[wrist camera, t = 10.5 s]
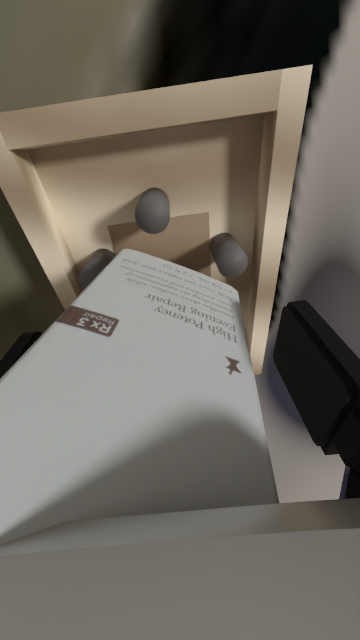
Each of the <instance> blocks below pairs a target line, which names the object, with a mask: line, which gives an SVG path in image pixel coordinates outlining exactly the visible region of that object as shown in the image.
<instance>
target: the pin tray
mask: <svg viewBox="0 0 360 640" xmlns="http://www.w3.org/2000/svg"><path fill="white" fill-rule="evenodd" d="M312 66H313V65H307V66H300V67H294V68H287V69H281V70H274V71H268V72H261V73H255V74H248V75H242V76H235V77H229V78H222V79H216V80H209V81H203V82H196V83H190V84H183V85H177V86H170V87H164V88H157V89H151V90H144V91H138V92H131V93H125V94H118V95H112V96H105V97H99V98H92V99H86V100H79V101H73V102H66V103H60V104H53V105H47V106H40V107H34V108H27V109H21V110H14V111H8V112H1V113H0V187H1V189H2V191H3V193H4V195H5V197H6V199H7V201H8V203H9V204H10V206H11V208H12V210H13V212H14V214H15V216H16V218H17V220H18V222H19V224H20V225H21V227H22V229H23V231H24V233H25V235H26V237H27V239H28V241H29V243H30V245H31V246H32V248H33V250H34V252H35V254H36V256H37V258H38V260H39V262H40V264H41V265H42V267H43V269H44V271H45V273H46V275H47V277H48V279H49V281H50V283H51V285H52V286H53V288H54V290H55V292H56V294H57V296H58V298H59V300H60V302H61V304H62V306H63V307H64V309H65V310H66V309H67V308H68V307H69V305H70V304H71V303H72V302H73V301H74V300H75V299H76V298H77V297H78V296H79V295H80V294H81V292H82V291H83V290H84V289H85V288H86V287H87V286H88V285H89V284H90V283H91V282H92V281H93V280H94V279H95V278H96V277H97V276H98V275H99V273H100V272H101V271H102V270H103V269H104V268H105V267H106V266H107V265H108V264H109V263H110V262H111V261H112V260H113V259H114V258H115V257H116V256H117V254H118V253H119V252H120V251H121V250H122V249H132V250H136V251H139V252H143V253H146V254H149V255H152V256H154V257H158V258H160V259H163V260H166V261H169V262H172V263H175V264H178V265H180V266H183V267H186V268H188V269H191V270H194V271H196V272H199V273H201V274H204V275H206V276H209V277H211V278H213V279H216V280H218V281H221V282H223V283H225V284H228V285H230V286H232V287H233V288H234V289H235V290H237V291H238V295H239V301H240V306H241V311H242V315H243V321H244V325H245V330H246V336H247V341H248V347H249V352H250V356H251V362H252V367H253V371H254V375H256V374H261V371H262V365H263V359H264V353H265V347H266V341H267V335H268V329H269V323H270V317H271V311H272V305H273V299H274V293H275V287H276V281H277V275H278V269H279V263H280V257H281V252H282V246H283V240H284V234H285V228H286V222H287V216H288V210H289V204H290V198H291V192H292V186H293V180H294V174H295V168H296V162H297V156H298V150H299V144H300V138H301V132H302V126H303V120H304V114H305V108H306V102H307V96H308V90H309V84H310V78H311V72H312Z"/></svg>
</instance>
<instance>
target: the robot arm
mask: <svg viewBox="0 0 360 640" xmlns="http://www.w3.org/2000/svg"><path fill="white" fill-rule="evenodd" d="M42 334H43V333H41V332H30V333H24V334H22V335H21V336H20V337H19V338H18V339H17V341H16V342H15V343H14V345H13V346H12V347H11V348H10V350H9V351H8V352H7V354H6V355H5V356H4V357H3V359H2V360H1V361H0V379H1V378H2V376H3V375H4V374H5V373H6V372H7V371H8V370H9V369H10V368H11V367H12V366H13V365H14V364H15V363H16V361H17V360H18V359H19V358H20V357H21V356H22V355H23V354H24V353H25V352H26V351H27V350H28V349H29V348H30V347H31V346H32V345H33V344H34V343H35V342H36V341H37V340H38V339H39V338H40V336H41V335H42ZM273 359H274V363H275V365H276V367H277V369H278V371H279V373H280V375H281V377H282V379H283V381H284V383H285V385H286V387H287V389H288V391H289V393H290V395H291V397H292V399H293V401H294V403H295V405H296V407H297V409H298V411H299V414H300V415H301V417H302V420H303V422H304V424H305V425H306V428H307V429H308V432H309V433H310V436H311V438H312V440H313V441H314V443H315V444H316V445H317V446H321V448H322V450H323V452H324V454H325V455H331V454H339V455H340V457H341V459H342V460H343V462H344V464H345V471H344V476H343V481H342V486H341V492H340V496H339V499H338V500H324V501H323V500H322V501H307V502H292V503H279V504H267V505H255V506H243V507H230V508H218V509H206V510H194V511H182V512H171V513H159V514H148V515H136V516H124V517H113V518H101V519H90V520H79V521H68V522H61V523H59V524H56V525H53V526H50V527H47V528H45V529H42V530H39V531H36V532H33V533H31V534H28V535H25V536H22V537H20V538H17V539H14V540H12V541H9V542H7V543H4V544H1V545H0V640H360V359H359V358H358V357H357V356H356V355H355V353H354V352H353V351H352V350H351V349H350V348H349V347H348V346H347V345H346V344H345V343H344V341H343V340H342V339H341V338H340V337H339V336H338V335H337V334H336V333H335V331H334V330H333V329H332V328H331V327H330V326H329V325H328V324H327V323H326V321H325V320H324V319H323V318H322V317H321V316H320V315H319V314H318V313H317V312H316V310H315V309H314V308H313V307H312V306H311V305H310V304H309V303H308V302H307V301H305V300H303V301H295V302H289V303H288V304H287V306H285V307H283V310H282V314H281V319H280V324H279V329H278V334H277V339H276V344H275V349H274V353H273Z"/></svg>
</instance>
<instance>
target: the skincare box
mask: <svg viewBox="0 0 360 640" xmlns="http://www.w3.org/2000/svg"><path fill="white" fill-rule="evenodd" d="M267 504H279V500H278V494H277V489H276V484H275V479H274V474H273V469H272V464H271V459H270V454H269V448H268V443H267V438H266V434H265V429H264V424H263V418H262V413H261V408H260V403H259V398H258V392H257V387H256V383H255V377H254V371H253V367H252V362H251V356H250V352H249V347H248V341H247V336H246V330H245V325H244V321H243V315H242V311H241V306H240V301H239V295H238V291H237V290H235V289H234V288H233V287H232V286H230V285H228V284H225V283H223V282H221V281H218V280H216V279H213V278H211V277H209V276H206V275H204V274H201V273H199V272H196V271H194V270H191V269H188V268H186V267H183V266H180V265H178V264H175V263H172V262H169V261H166V260H163V259H160V258H158V257H154V256H152V255H149V254H146V253H143V252H139V251H136V250H132V249H122V250H121V251H120V252H119V253H118V254H117V256H116V257H115V258H114V259H113V260H112V261H111V262H110V263H109V264H108V265H107V266H106V267H105V268H104V269H103V270H102V271H101V272H100V273H99V275H98V276H97V277H96V278H95V279H94V280H93V281H92V282H91V283H90V284H89V285H88V286H87V287H86V288H85V289H84V290H83V291H82V292H81V294H80V295H79V296H78V297H77V298H76V299H75V300H74V301H73V302H72V303H71V304H70V305H69V307H68V308H67V309H66V310H65V311H64V312H63V313H62V314H61V315H60V316H59V317H58V318H57V319H56V320H55V321H54V323H53V324H52V325H51V326H50V327H49V328H48V329H47V330H46V331H45V332H44V333H43V334H42V335H41V336H40V338H39V339H38V340H37V341H36V342H35V343H34V344H33V345H32V346H31V347H30V348H29V349H28V350H27V351H26V352H25V353H24V354H23V355H22V356H21V357H20V358H19V359H18V360H17V361H16V363H15V364H14V365H13V366H12V367H11V368H10V369H9V370H8V371H7V372H6V373H5V374H4V375H3V376H2V378H1V379H0V545H1V544H4V543H7V542H9V541H12V540H14V539H17V538H20V537H22V536H25V535H28V534H31V533H33V532H36V531H39V530H42V529H45V528H47V527H50V526H53V525H56V524H59V523H61V522H68V521H79V520H90V519H101V518H113V517H124V516H136V515H148V514H159V513H171V512H182V511H194V510H206V509H218V508H230V507H243V506H255V505H267Z"/></svg>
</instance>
